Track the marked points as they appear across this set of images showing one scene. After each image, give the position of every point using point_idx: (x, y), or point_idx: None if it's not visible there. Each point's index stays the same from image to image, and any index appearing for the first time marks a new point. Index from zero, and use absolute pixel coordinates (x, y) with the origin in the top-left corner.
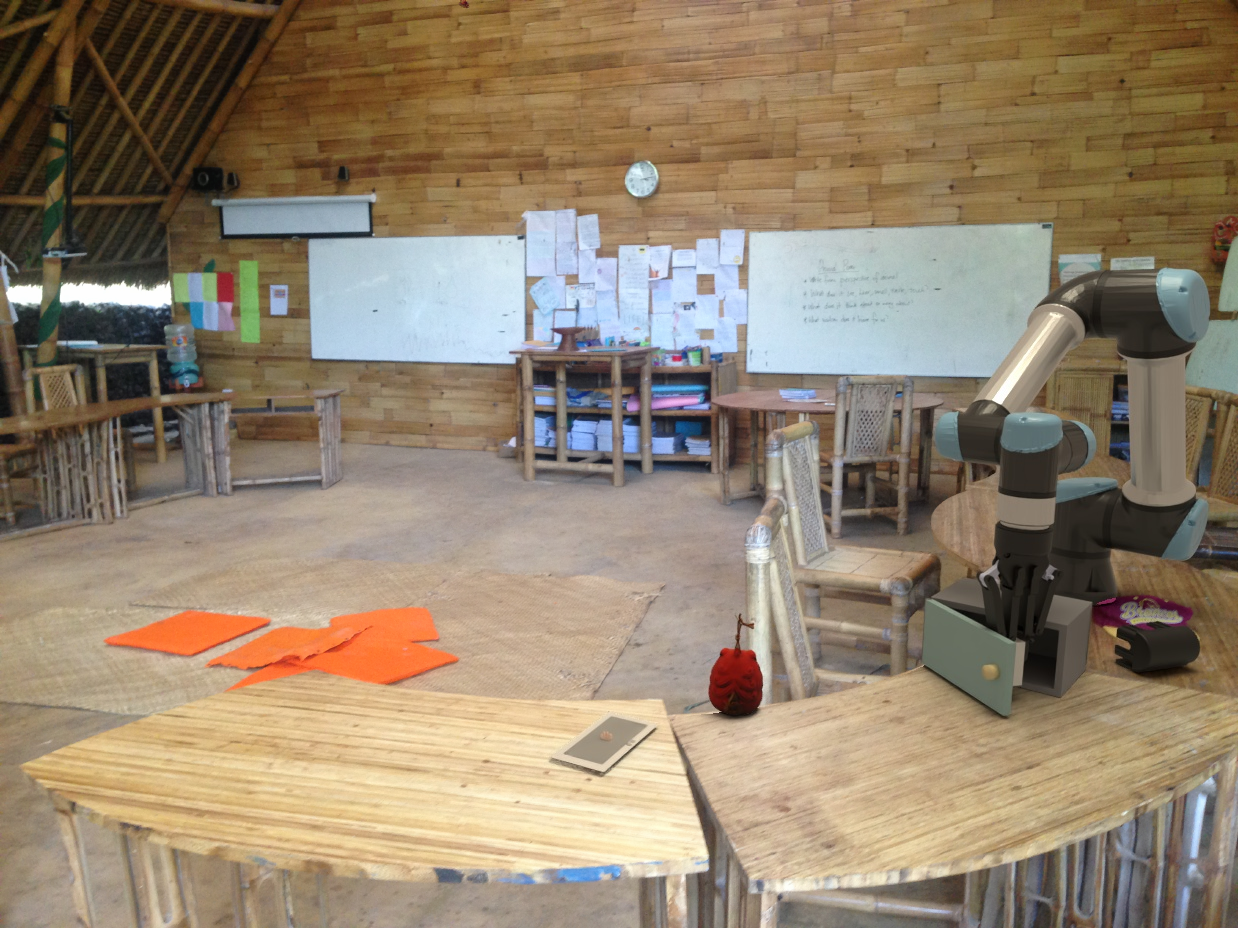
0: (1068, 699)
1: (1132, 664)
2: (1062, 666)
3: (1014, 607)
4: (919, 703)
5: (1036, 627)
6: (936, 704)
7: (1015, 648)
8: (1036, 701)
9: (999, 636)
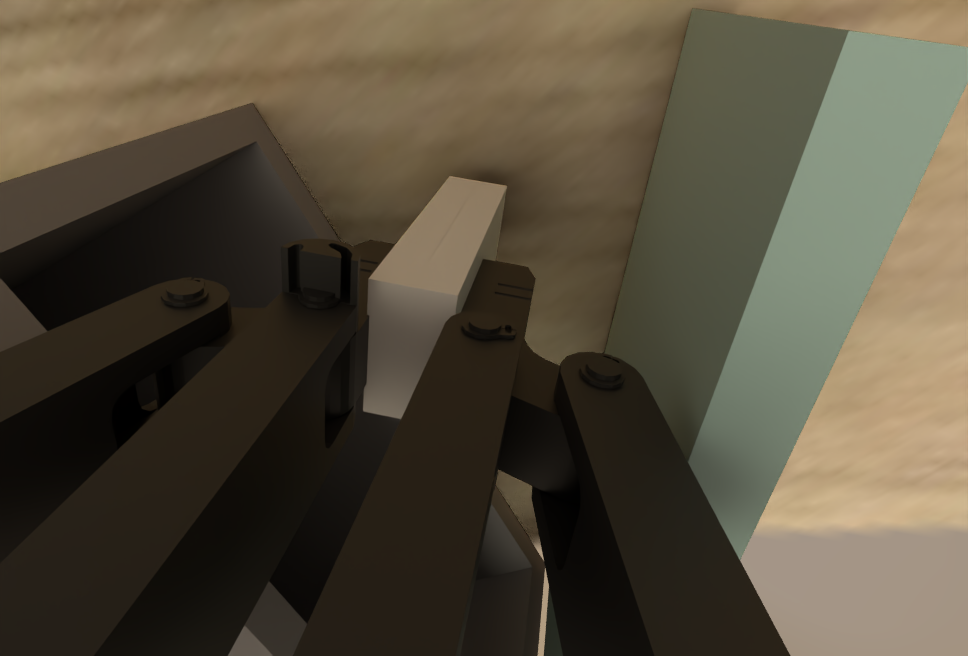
0: (227, 72)
1: None
2: (155, 139)
3: (419, 581)
4: (941, 333)
5: (195, 325)
6: (878, 292)
7: (826, 27)
8: (394, 119)
9: (805, 300)
